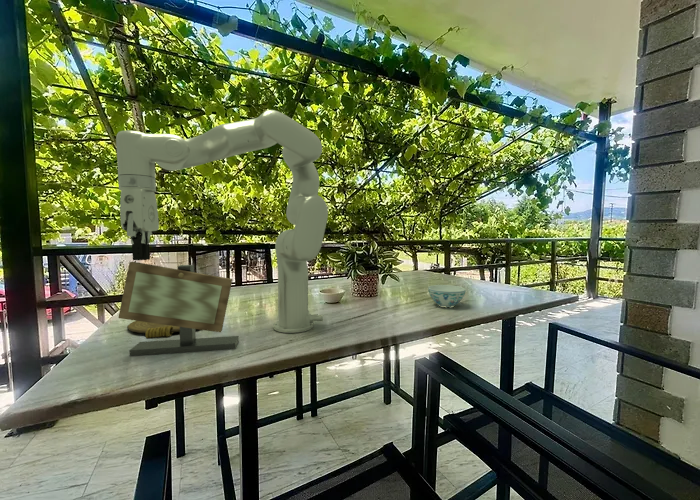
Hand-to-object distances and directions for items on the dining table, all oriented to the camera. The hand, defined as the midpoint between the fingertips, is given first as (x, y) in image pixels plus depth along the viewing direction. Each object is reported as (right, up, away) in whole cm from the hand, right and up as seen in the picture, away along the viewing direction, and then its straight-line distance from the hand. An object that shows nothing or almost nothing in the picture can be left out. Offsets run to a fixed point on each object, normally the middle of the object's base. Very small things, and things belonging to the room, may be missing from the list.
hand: (141, 259), depth 78 cm
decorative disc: (-6, -23, +28) cm, 37 cm away
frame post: (+8, -24, +6) cm, 26 cm away
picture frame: (+6, -17, +2) cm, 18 cm away
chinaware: (+92, -21, +53) cm, 108 cm away
